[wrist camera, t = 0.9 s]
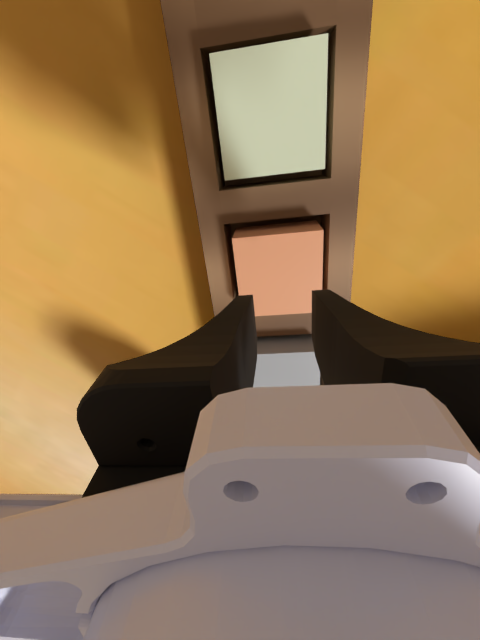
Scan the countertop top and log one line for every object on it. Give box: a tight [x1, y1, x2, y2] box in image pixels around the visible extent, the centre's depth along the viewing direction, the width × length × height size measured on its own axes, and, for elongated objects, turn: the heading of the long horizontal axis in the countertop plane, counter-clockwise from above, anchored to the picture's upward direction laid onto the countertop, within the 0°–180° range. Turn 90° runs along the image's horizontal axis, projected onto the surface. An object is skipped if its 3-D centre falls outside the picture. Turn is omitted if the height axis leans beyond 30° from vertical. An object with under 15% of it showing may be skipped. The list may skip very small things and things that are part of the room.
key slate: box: [253, 334, 320, 388], centre depth 20 cm, size 4×4×2 cm
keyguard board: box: [160, 0, 373, 385], centre depth 16 cm, size 29×8×3 cm, turn 6°
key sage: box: [209, 33, 328, 181], centre depth 13 cm, size 4×4×2 cm
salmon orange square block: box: [232, 220, 324, 316], centre depth 16 cm, size 4×4×2 cm
